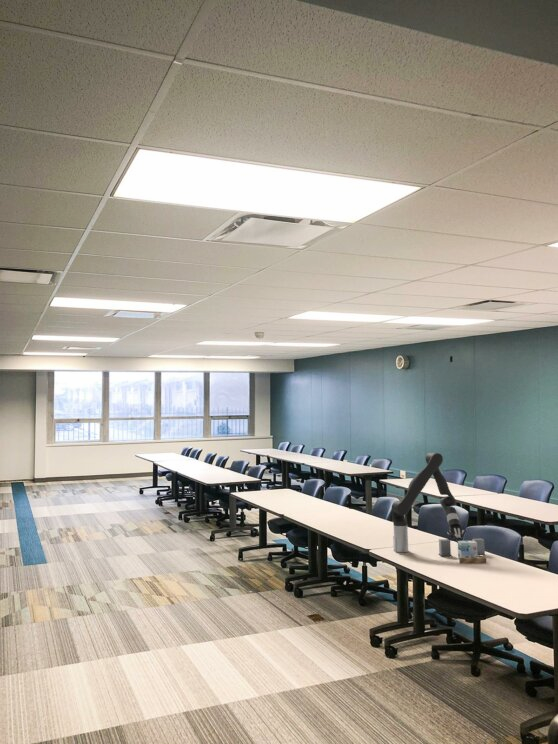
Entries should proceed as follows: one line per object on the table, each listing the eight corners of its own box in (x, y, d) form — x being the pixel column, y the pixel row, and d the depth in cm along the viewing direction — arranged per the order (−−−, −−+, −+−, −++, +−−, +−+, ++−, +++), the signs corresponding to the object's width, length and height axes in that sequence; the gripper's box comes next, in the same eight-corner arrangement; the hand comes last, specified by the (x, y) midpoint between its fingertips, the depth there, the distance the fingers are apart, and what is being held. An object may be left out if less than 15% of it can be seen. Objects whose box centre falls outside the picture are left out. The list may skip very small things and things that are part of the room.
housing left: (441, 556, 389) (440, 540, 390) (438, 554, 395) (438, 539, 396) (451, 556, 389) (451, 540, 390) (449, 554, 395) (448, 539, 396)
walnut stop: (460, 563, 369) (460, 558, 370) (459, 562, 372) (459, 557, 372) (486, 563, 370) (486, 558, 370) (485, 562, 372) (485, 557, 372)
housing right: (475, 556, 389) (474, 540, 390) (472, 554, 395) (471, 538, 396) (485, 555, 390) (485, 540, 390) (482, 553, 395) (481, 538, 396)
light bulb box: (461, 560, 379) (460, 542, 379) (457, 558, 385) (457, 540, 386) (478, 559, 379) (477, 542, 380) (474, 557, 386) (473, 540, 387)
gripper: (444, 518, 407) (450, 540, 393) (464, 518, 407) (471, 540, 394) (442, 525, 412) (448, 547, 398) (462, 524, 412) (468, 546, 398)
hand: (459, 543), depth 396 cm, fingers closed
